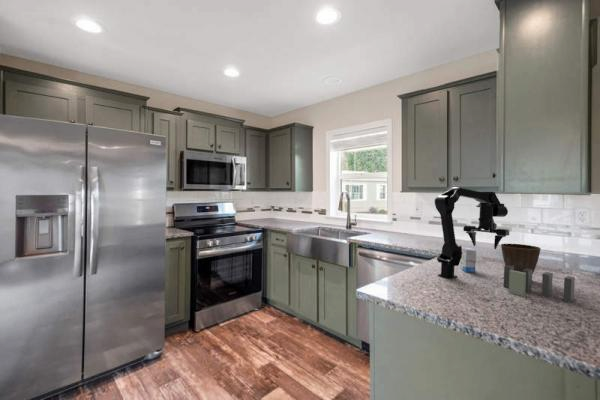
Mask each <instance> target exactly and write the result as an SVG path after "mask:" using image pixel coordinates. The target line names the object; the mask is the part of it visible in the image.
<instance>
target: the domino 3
mask: <svg viewBox="0 0 600 400" xmlns="http://www.w3.org/2000/svg"><path fill="white" fill-rule="evenodd" d="M541 277H542V278H541V297H543V296H544V297H545V298H547V297H548V298H550V297H551V296H552V295H553V272H550V271H549V272H548V271H545V272H544V273H543V272H542V275H541Z"/></svg>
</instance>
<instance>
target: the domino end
mask: <svg viewBox="0 0 600 400" xmlns="http://www.w3.org/2000/svg"><path fill="white" fill-rule="evenodd" d="M575 280H576V277H575V276H569V275H567V276H566V277H565V276H564V279H563V281H564V282H563V302H564V301H565V303H568V302H569V304H572V303H573V302H574V301H575V283H576V282H575ZM572 301H573V302H572Z"/></svg>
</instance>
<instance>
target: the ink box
mask: <svg viewBox="0 0 600 400" xmlns="http://www.w3.org/2000/svg"><path fill="white" fill-rule="evenodd" d="M461 247H462V253H463V254H462V258H461V260H460V263H459V269H460V270H462V271H463V272H465V273H472V274H473V273H474V274H475V273H476V264H477V263H476V262H477V250H475V249H473V248H472V247H467V246H466V247H465V246H461Z"/></svg>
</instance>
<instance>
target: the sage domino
mask: <svg viewBox="0 0 600 400" xmlns="http://www.w3.org/2000/svg"><path fill="white" fill-rule="evenodd" d="M508 293H509V294H514V295H517V296H522V297H525V296H526V273H524V272H519V271H514V270H510V273H509V288H508Z"/></svg>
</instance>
